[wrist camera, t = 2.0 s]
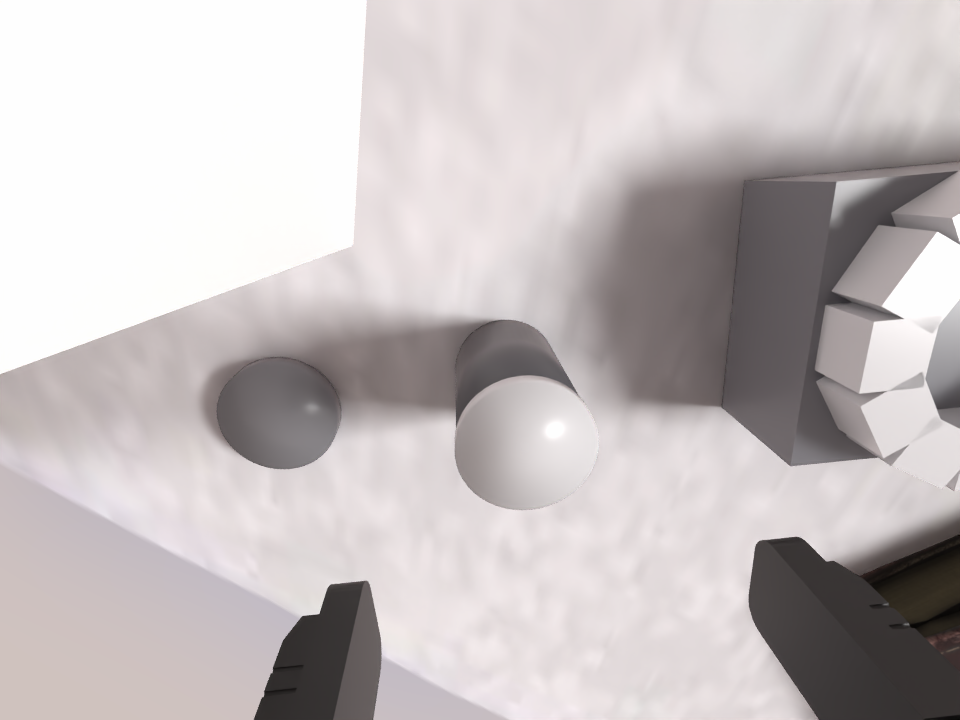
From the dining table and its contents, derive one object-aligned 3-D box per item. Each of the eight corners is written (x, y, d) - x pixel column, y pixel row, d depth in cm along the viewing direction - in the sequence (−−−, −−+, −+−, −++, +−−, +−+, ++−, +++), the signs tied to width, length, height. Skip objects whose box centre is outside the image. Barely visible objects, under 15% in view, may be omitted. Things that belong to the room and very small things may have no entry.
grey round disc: (215, 361, 21) (202, 371, 20) (330, 349, 21) (324, 358, 20) (244, 460, 23) (234, 474, 22) (351, 449, 23) (346, 462, 22)
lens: (449, 324, 21) (447, 390, 14) (553, 314, 21) (599, 375, 15) (459, 417, 23) (461, 516, 16) (556, 408, 23) (598, 502, 16)
